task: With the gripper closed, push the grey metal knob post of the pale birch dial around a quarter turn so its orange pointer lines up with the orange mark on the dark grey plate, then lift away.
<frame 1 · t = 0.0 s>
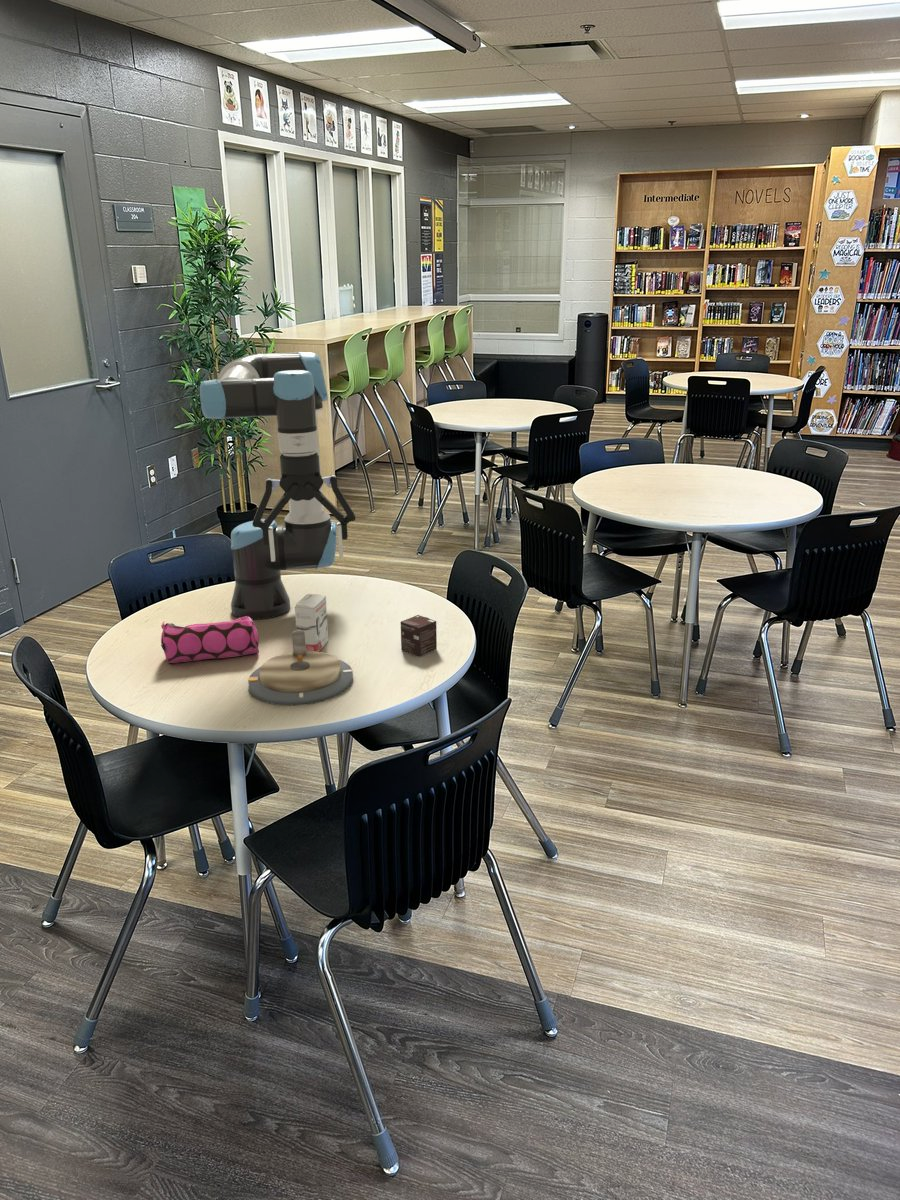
hand: (307, 557, 180), 28 cm above the table, fingers open, 13 cm apart
dial plate: (301, 682, 190), on the table
pencil case: (212, 658, 204), on the table
ink box: (313, 648, 208), on the table
box: (419, 651, 205), on the table
dial: (299, 660, 188), point 5 cm above the table, hinge at 0.0°
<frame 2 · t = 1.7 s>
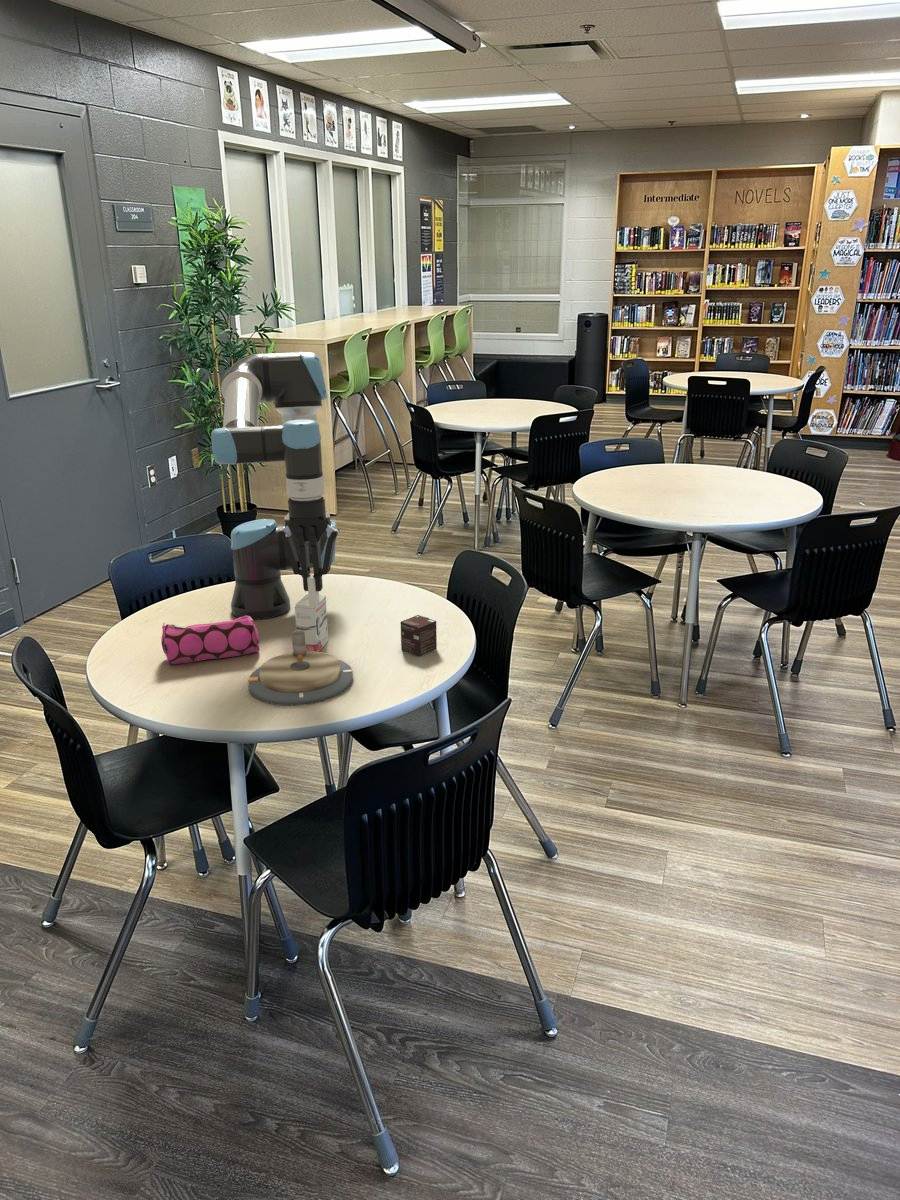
hand: (314, 605, 191), 15 cm above the table, fingers closed
nothing on the table moved.
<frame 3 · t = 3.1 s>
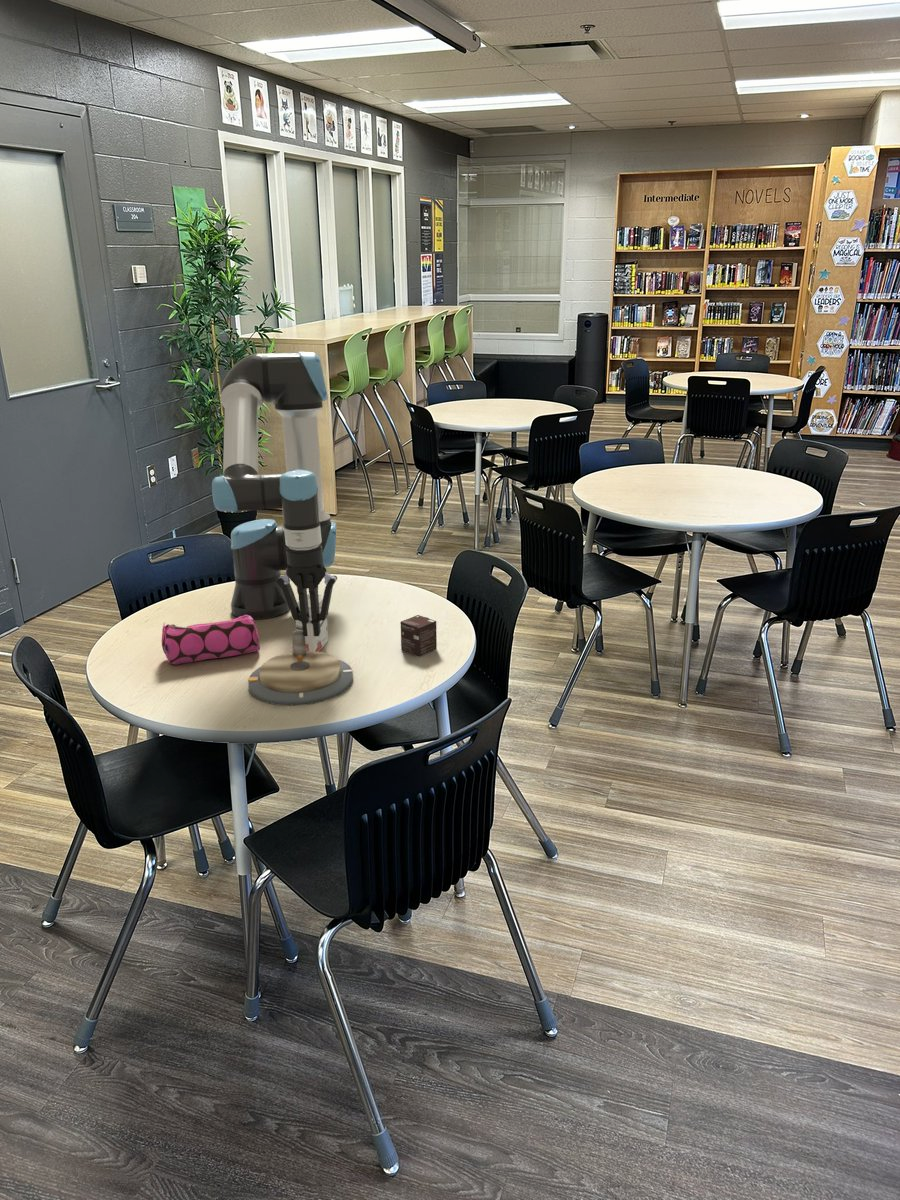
hand: (313, 649, 195), 5 cm above the table, fingers closed
dial: (299, 660, 188), point 5 cm above the table, hinge at 0.2°, touching gripper
everything else where it was.
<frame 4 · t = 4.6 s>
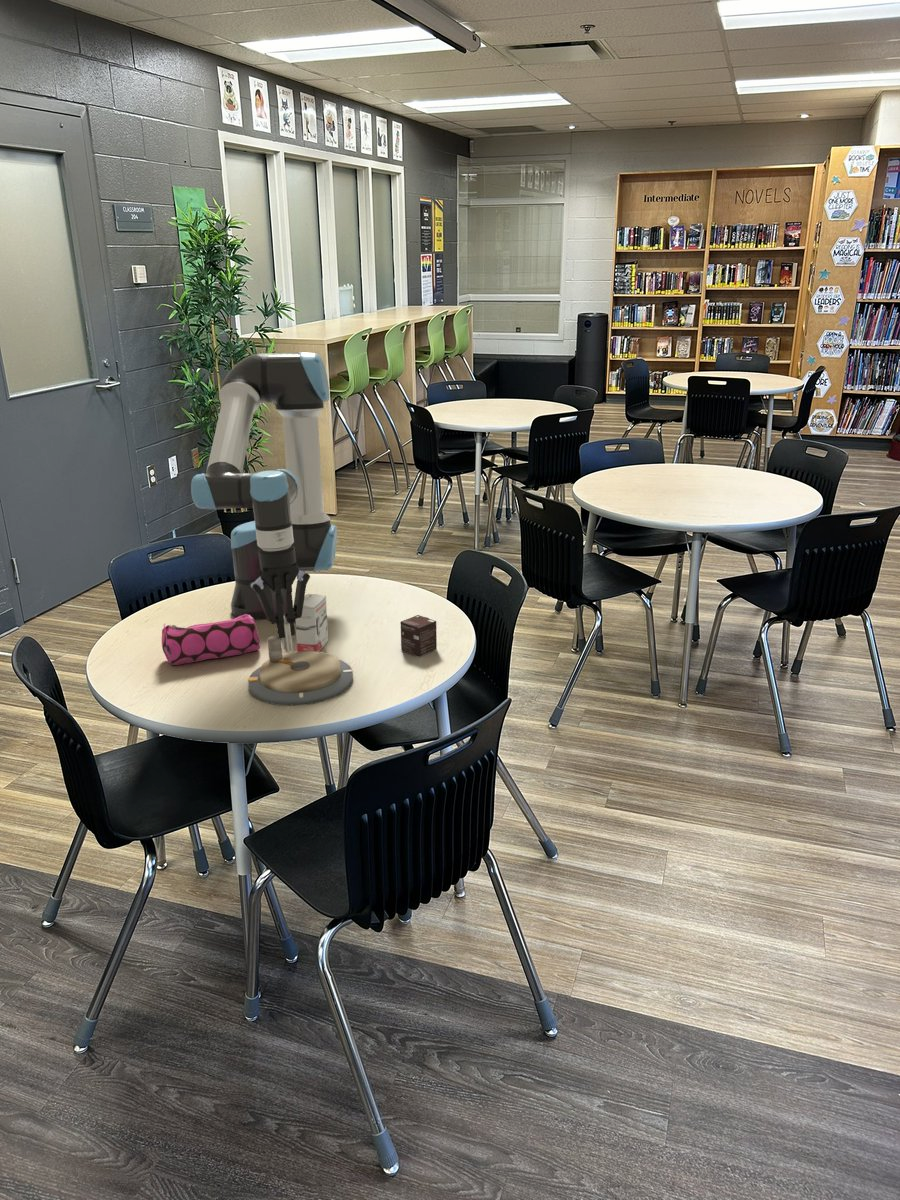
hand: (288, 650, 194), 5 cm above the table, fingers closed
dial: (299, 660, 188), point 5 cm above the table, hinge at 46.9°, touching gripper
everything else where it was.
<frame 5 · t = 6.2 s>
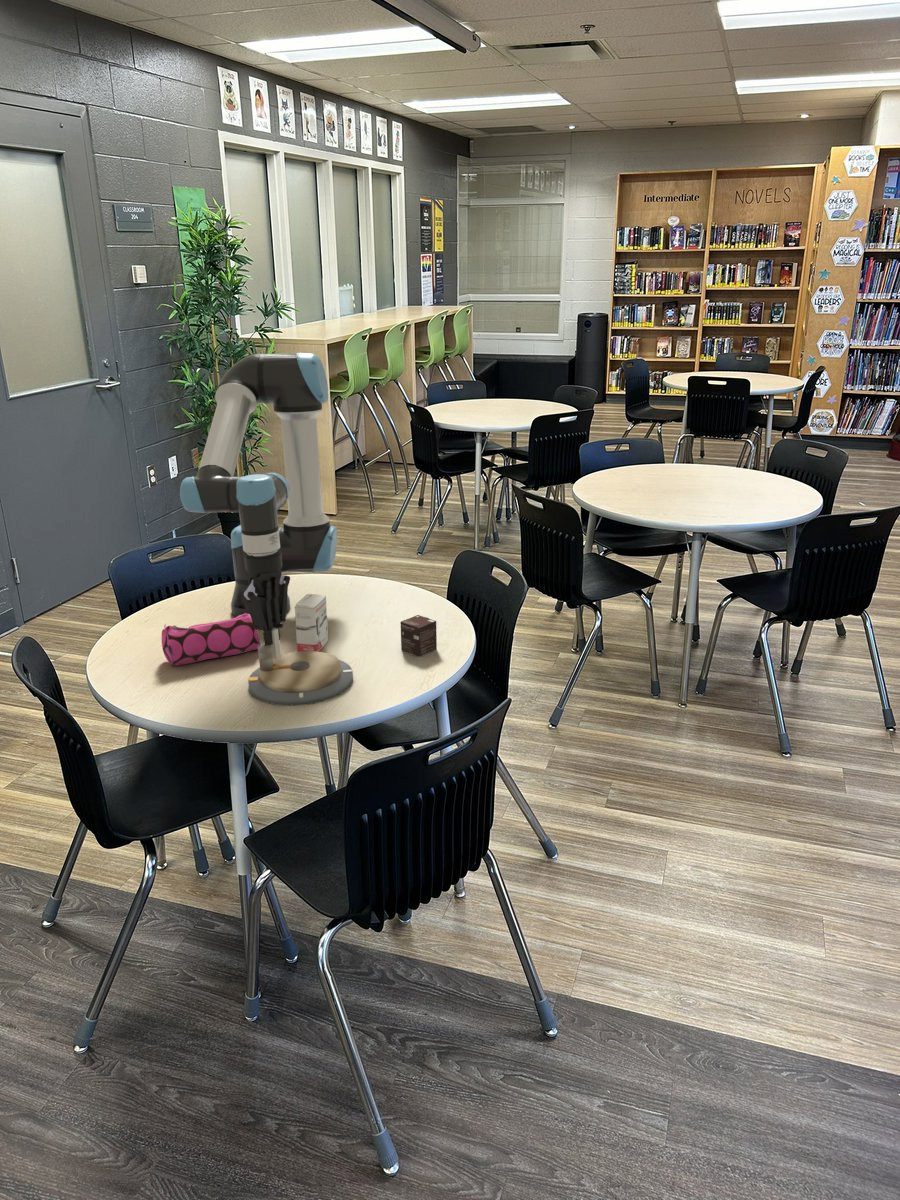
hand: (274, 656, 191), 5 cm above the table, fingers closed
dial: (299, 660, 188), point 5 cm above the table, hinge at 85.7°, touching gripper
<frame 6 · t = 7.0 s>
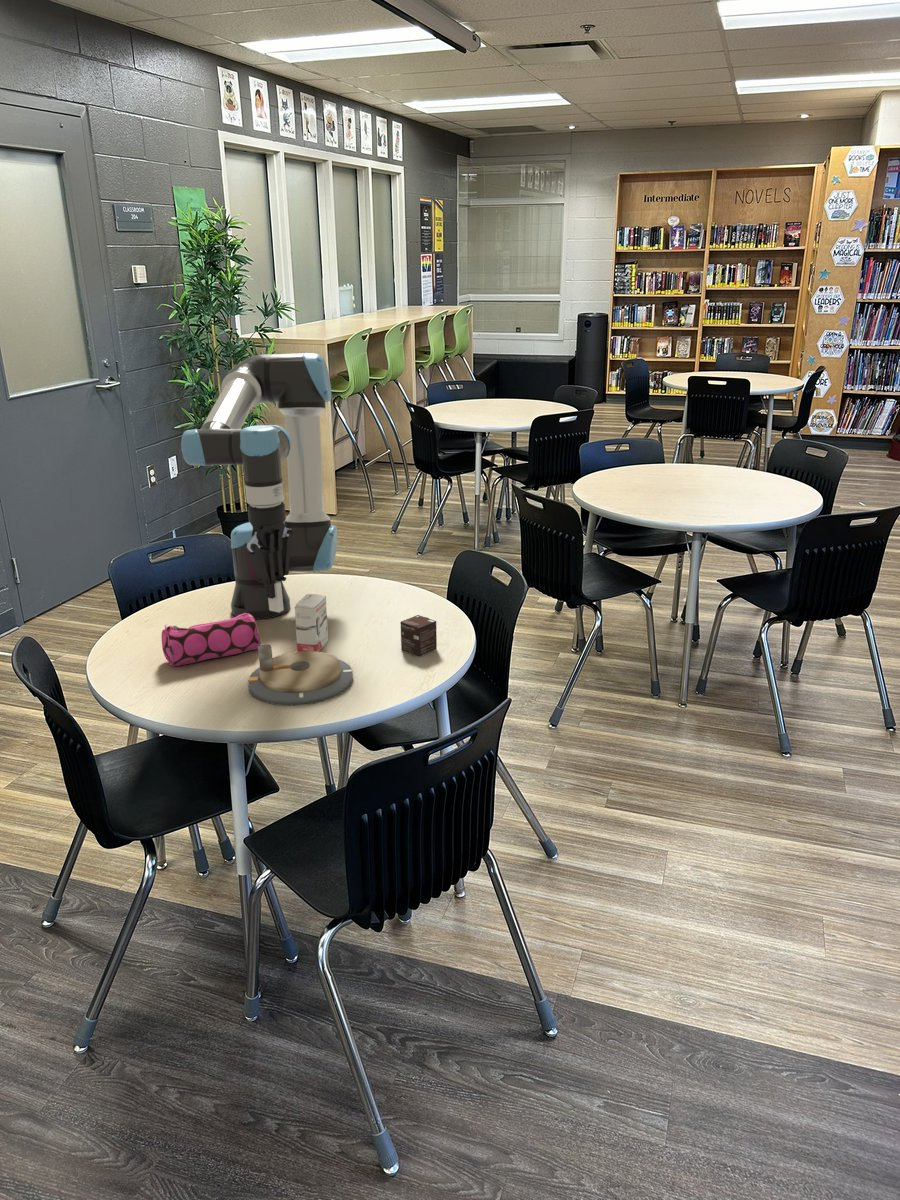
hand: (276, 610, 190), 15 cm above the table, fingers closed
dial: (299, 660, 188), point 5 cm above the table, hinge at 85.7°
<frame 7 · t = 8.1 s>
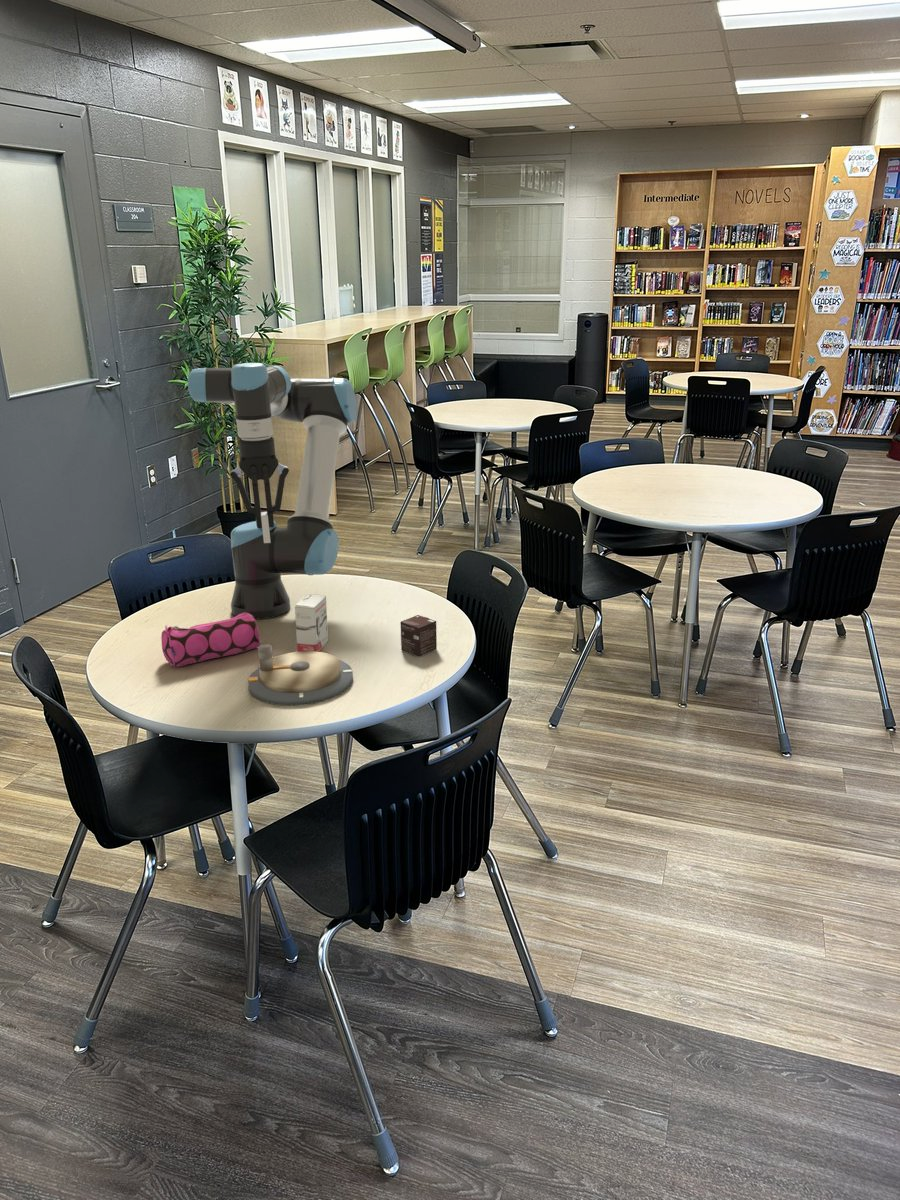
hand: (267, 541, 201), 26 cm above the table, fingers closed
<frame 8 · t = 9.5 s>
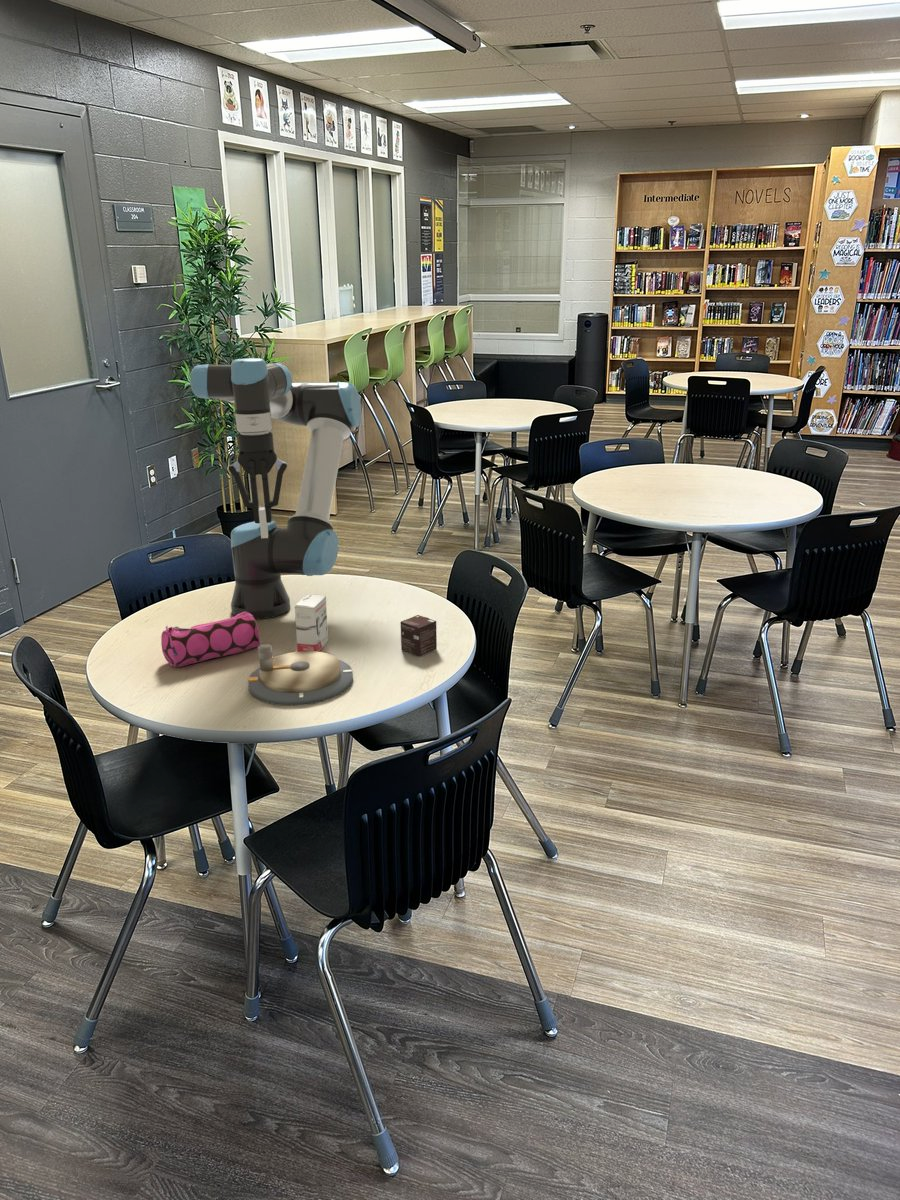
hand: (264, 536, 202), 26 cm above the table, fingers closed
at the end: dial at +86° (first picture: +0°) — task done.
